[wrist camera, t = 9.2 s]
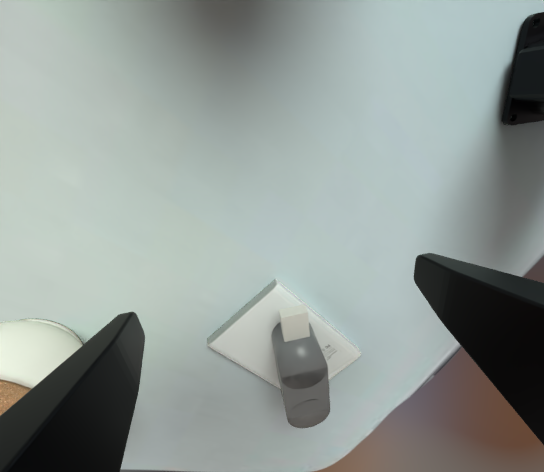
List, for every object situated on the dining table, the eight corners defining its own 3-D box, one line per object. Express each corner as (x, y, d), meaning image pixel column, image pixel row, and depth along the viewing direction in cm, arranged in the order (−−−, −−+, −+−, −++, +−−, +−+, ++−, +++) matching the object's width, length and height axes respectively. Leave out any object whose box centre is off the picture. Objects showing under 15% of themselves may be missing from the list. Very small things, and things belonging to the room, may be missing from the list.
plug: (317, 399, 29) (331, 440, 26) (283, 407, 29) (292, 450, 25) (308, 290, 23) (325, 324, 19) (265, 299, 23) (273, 336, 19)
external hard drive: (274, 274, 24) (356, 343, 29) (207, 333, 25) (296, 389, 30) (278, 285, 22) (363, 356, 27) (206, 347, 24) (300, 404, 29)
